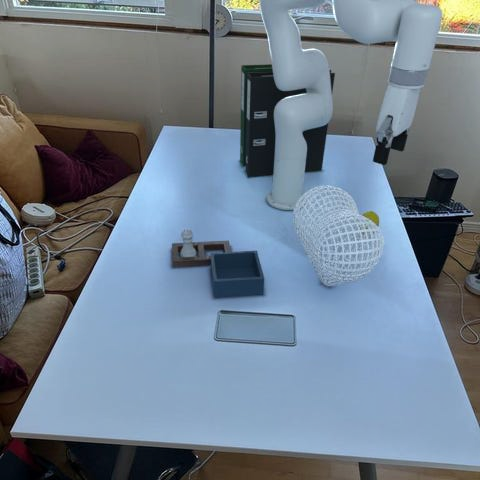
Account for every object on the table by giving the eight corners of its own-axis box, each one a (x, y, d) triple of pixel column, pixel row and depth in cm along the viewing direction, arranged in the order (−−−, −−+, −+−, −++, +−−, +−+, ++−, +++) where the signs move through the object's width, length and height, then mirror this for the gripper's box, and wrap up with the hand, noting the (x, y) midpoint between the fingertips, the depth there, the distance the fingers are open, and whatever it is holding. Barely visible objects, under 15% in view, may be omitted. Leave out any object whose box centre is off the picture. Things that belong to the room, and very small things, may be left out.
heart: (280, 256, 127) (287, 178, 112) (333, 249, 130) (347, 173, 115) (317, 324, 107) (331, 240, 92) (379, 314, 110) (403, 232, 95)
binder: (310, 155, 177) (321, 62, 156) (322, 172, 167) (336, 74, 145) (240, 160, 173) (241, 65, 152) (248, 178, 162) (251, 77, 141)
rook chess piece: (199, 254, 127) (198, 228, 121) (193, 263, 124) (191, 237, 118) (184, 251, 128) (182, 225, 122) (177, 260, 125) (175, 234, 119)
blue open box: (210, 269, 122) (210, 252, 118) (256, 266, 123) (256, 250, 120) (214, 298, 113) (213, 281, 110) (263, 295, 114) (264, 278, 111)
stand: (172, 249, 128) (171, 243, 127) (228, 246, 130) (228, 240, 129) (172, 267, 122) (172, 261, 121) (232, 264, 124) (232, 258, 122)
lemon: (375, 242, 133) (382, 217, 128) (356, 239, 134) (361, 214, 128) (375, 232, 137) (381, 207, 132) (356, 230, 138) (361, 205, 132)
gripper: (406, 64, 104) (388, 141, 116) (372, 81, 94) (356, 164, 105) (439, 70, 101) (417, 149, 112) (408, 89, 90) (388, 173, 102)
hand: (388, 156), depth 109 cm, fingers open, 9 cm apart
